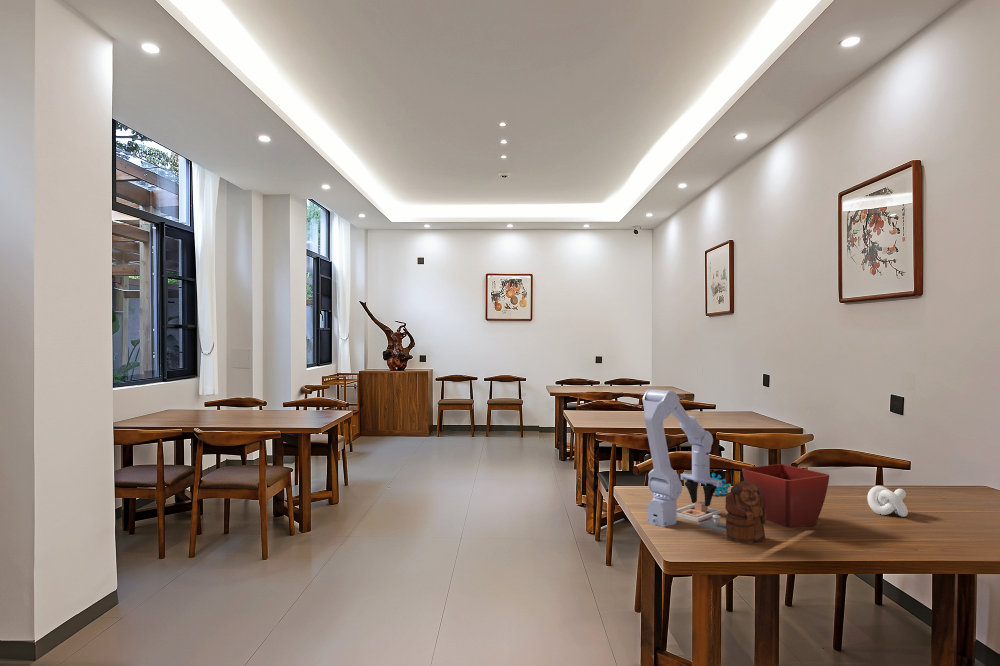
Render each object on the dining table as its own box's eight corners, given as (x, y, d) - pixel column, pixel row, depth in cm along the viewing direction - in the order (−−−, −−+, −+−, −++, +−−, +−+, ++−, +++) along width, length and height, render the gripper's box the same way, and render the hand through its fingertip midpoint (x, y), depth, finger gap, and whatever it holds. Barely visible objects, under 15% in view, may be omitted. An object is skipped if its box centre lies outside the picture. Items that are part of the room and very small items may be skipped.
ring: (696, 520, 185) (696, 509, 185) (680, 515, 189) (680, 505, 189) (712, 514, 191) (712, 503, 191) (696, 510, 196) (696, 500, 196)
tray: (697, 524, 181) (697, 518, 181) (670, 517, 189) (670, 511, 189) (720, 516, 190) (720, 510, 190) (693, 509, 198) (693, 503, 198)
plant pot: (740, 517, 190) (740, 467, 190) (781, 511, 197) (781, 463, 197) (788, 534, 172) (788, 480, 172) (832, 527, 179) (831, 475, 179)
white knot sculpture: (920, 519, 187) (920, 493, 187) (885, 519, 187) (885, 493, 187) (896, 510, 198) (896, 484, 199) (863, 510, 198) (862, 484, 198)
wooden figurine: (739, 549, 160) (739, 486, 160) (723, 541, 166) (723, 481, 166) (771, 544, 164) (770, 482, 164) (754, 537, 170) (753, 478, 170)
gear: (706, 492, 215) (702, 470, 222) (700, 500, 219) (696, 478, 226) (734, 496, 215) (729, 474, 222) (728, 504, 219) (723, 482, 226)
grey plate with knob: (722, 535, 171) (722, 522, 171) (695, 528, 178) (695, 515, 178) (736, 529, 176) (736, 517, 176) (710, 522, 183) (710, 510, 183)
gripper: (726, 466, 189) (726, 506, 189) (688, 459, 200) (688, 497, 200) (715, 469, 185) (716, 510, 184) (677, 462, 196) (677, 501, 196)
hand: (700, 504), depth 192 cm, fingers open, 4 cm apart
